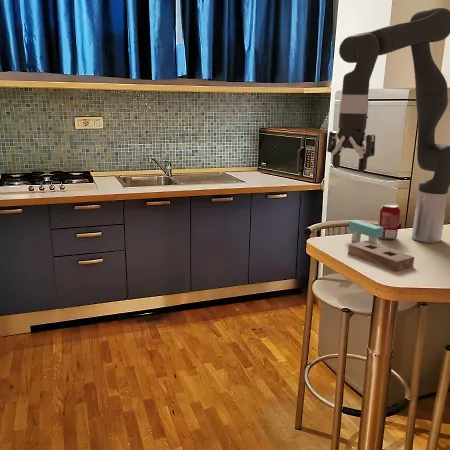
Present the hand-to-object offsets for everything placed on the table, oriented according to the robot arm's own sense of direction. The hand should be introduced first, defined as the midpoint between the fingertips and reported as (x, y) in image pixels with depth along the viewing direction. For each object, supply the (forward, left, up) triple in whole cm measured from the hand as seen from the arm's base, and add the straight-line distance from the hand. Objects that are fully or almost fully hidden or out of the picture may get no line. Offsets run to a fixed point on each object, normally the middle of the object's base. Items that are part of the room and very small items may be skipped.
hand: (348, 169), depth 130 cm
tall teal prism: (-19, -7, -28) cm, 34 cm away
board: (-11, +6, -28) cm, 30 cm away
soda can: (-32, -8, -28) cm, 43 cm away
